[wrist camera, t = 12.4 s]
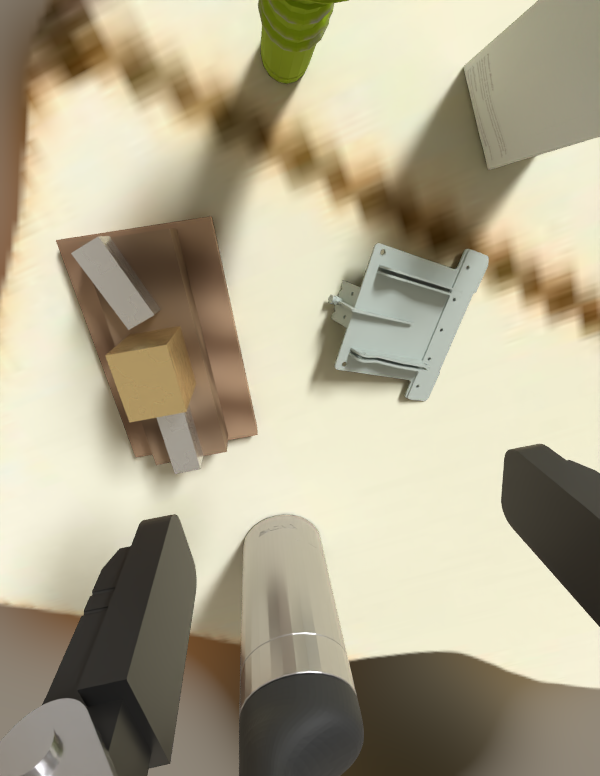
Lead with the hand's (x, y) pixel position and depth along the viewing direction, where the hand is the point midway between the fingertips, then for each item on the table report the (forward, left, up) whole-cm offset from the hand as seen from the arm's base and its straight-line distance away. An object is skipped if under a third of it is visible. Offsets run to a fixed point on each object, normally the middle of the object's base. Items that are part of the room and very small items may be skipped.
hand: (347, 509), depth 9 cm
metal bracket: (-3, -11, -29) cm, 31 cm away
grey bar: (-2, +11, -24) cm, 26 cm away
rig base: (-2, +10, -28) cm, 30 cm away
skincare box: (+13, -21, -28) cm, 38 cm away
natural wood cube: (-2, +10, -24) cm, 26 cm away
